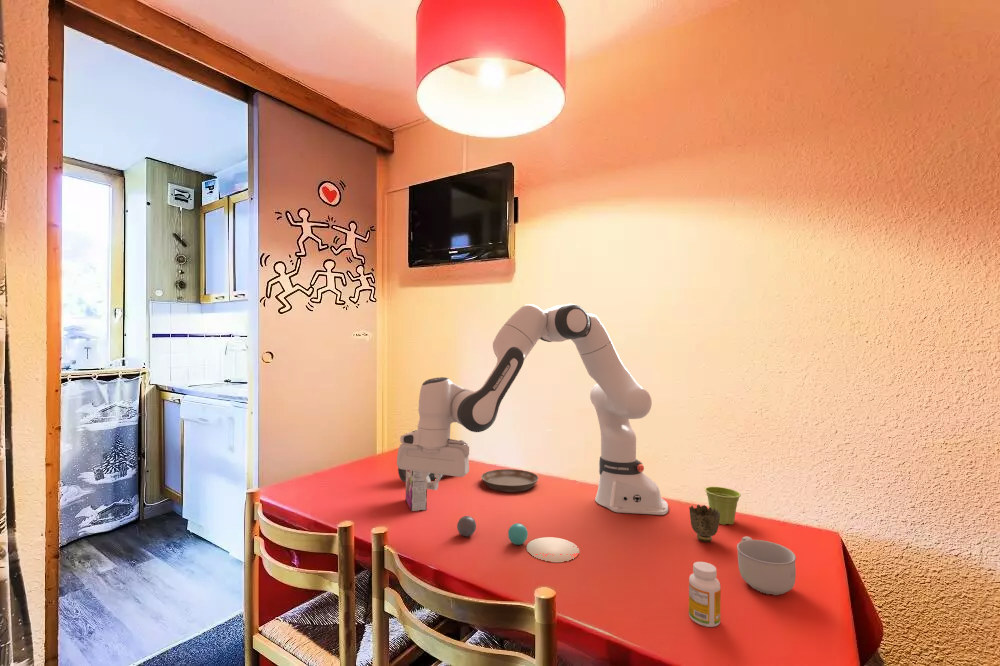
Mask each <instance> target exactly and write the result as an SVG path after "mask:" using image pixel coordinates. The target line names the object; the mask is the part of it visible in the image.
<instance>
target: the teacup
mask: <svg viewBox="0 0 1000 666" xmlns="http://www.w3.org/2000/svg"><path fill="white" fill-rule="evenodd" d="M736 551H737V564H738V571H739V574H740V576H741V578H742V579H743V580H744V582H745V583H746V584H748V585H749V586H750V587H751V588H752V589H754V590H755V589H756V591H758V592H759V591H760V593H762V592H763V593H762V594H765V593H766V595H769V594H773V595H772V596H779V595H780V594H781V595H783V594H785V593H787V592H790V591H791V590H793V588H794V587H795V584H796V577H797V576H796V569H797V568H796V561H797V557H796V554H795V553H794V552H793V550H791V549H790V548H788V547H786V546H784V545H782V544H779V543H776V542H773V541H772V542H771V541H768V540H763V539H753V538H752V537H751V536H742V538H741V541H739V542H738V543H737V545H736Z"/></svg>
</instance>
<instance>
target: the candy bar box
mask: <svg viewBox="0 0 1000 666" xmlns="http://www.w3.org/2000/svg"><path fill="white" fill-rule="evenodd" d="M427 496H428V489H426V482H425V481H424V479H423V477H422V472H419V471H411V470H406V482H405V501H406V503H407V505H408V508H409V509H410V511H411V512H412V511H416V512H419V511H418V510H422V511H427V510H428V509H427V508H428V506H427V505H428V503H427V501H428V497H427Z"/></svg>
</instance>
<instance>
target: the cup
mask: <svg viewBox="0 0 1000 666" xmlns="http://www.w3.org/2000/svg"><path fill="white" fill-rule="evenodd" d="M688 507H689V508H688V509H689V518H690V525H691V528H692V530H693V531H694V532H695V534H696V538H697V540H699V541H700V542H702V543H710V542H712V541H713V538H712V537H713V536H715V535H716V534H717V533H718V529H719V526H720V525H719V519H720V512H718V510H717V511H716V509H713V511H712V508H711V507H710V508H709V507H708V506H706V505H705V504H703V505H699V504H697V505H696V507H694V505H691V506H688Z"/></svg>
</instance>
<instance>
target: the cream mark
mask: <svg viewBox="0 0 1000 666" xmlns="http://www.w3.org/2000/svg"><path fill="white" fill-rule="evenodd" d="M573 546H574V547H573ZM577 547H578V546H577V545H576V544H575V543H574V542H572V541H569V540H567V539H564V538H560V537H552V536H544V537H543V536H542V537H538V538H535V539H532V540H531V541H529V542H528V543H527V545H526V551H527V553H528V552H529V553H530V554H531V555H532V556H531V555H530V554H529V553H528V554H529V555H530V556H531V557H533V556H534V557H533V558H535V557H536V558H535V559H537V558H538V559H537V560H539V559H541V560H540V561H542V560H545V561H544V562H547V561H551V562H550V563H565V562H564V561H567V562H570V561H569V560H571V559H572V558H573V560H575V559H574V556H573V555H572V554H574V553H575V554H576V553H579V554H580V549H579V547H578V548H577ZM540 553H541V554H540ZM543 553H544V554H543ZM548 553H549V554H548ZM535 554H538V555H535ZM542 554H543V555H545V554H548V555H547V556H546V555H545V556H546V557H545V556H543V555H542ZM550 554H551V555H550ZM553 554H554V555H553ZM560 554H562V555H560ZM567 554H568V555H567ZM570 554H571V555H572V556H573V557H572V556H571V555H570ZM552 555H553V556H552ZM543 557H544V558H543ZM571 557H572V558H571ZM571 561H572V560H571Z"/></svg>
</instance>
